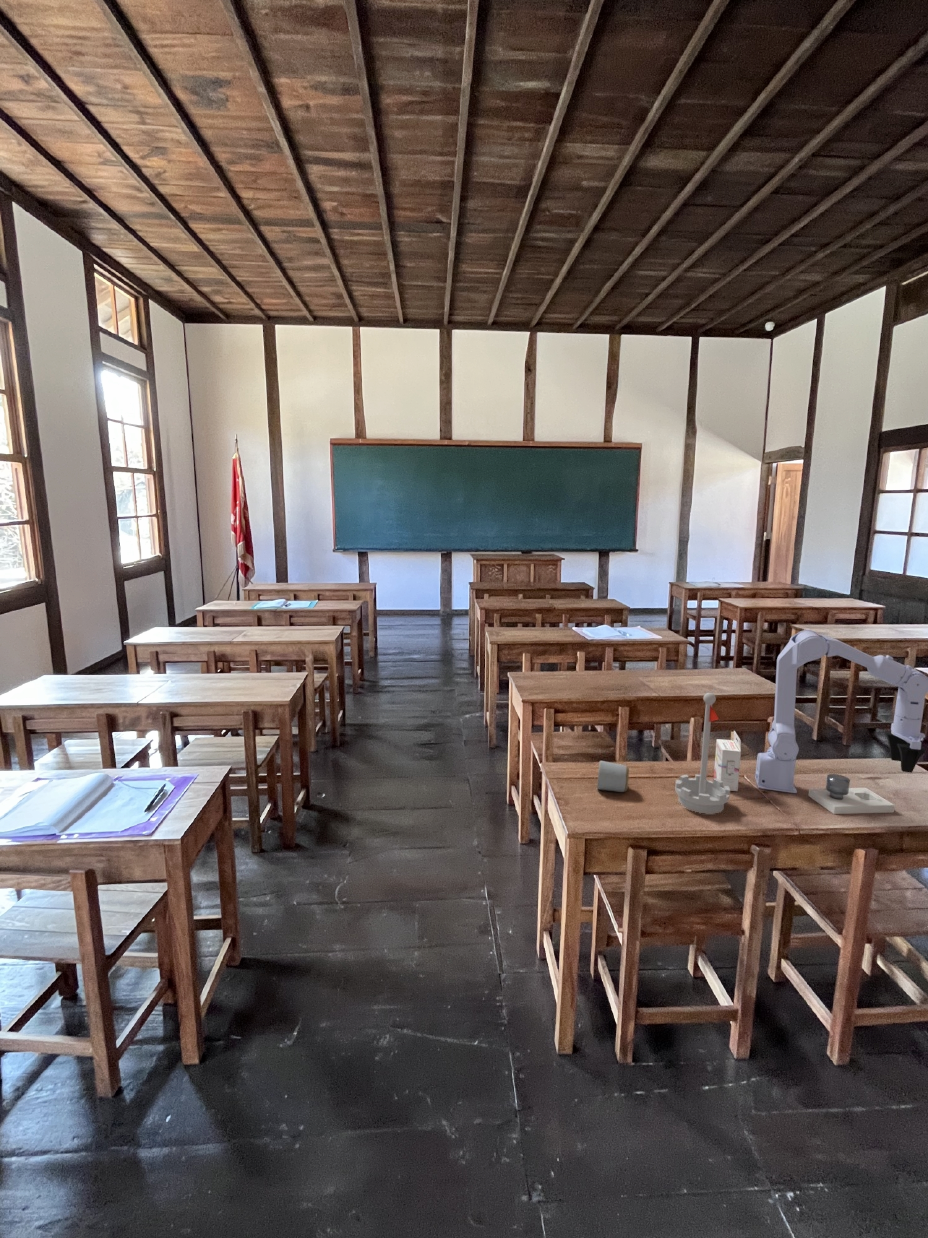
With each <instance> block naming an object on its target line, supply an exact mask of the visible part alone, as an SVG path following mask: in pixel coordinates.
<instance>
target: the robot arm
mask: <svg viewBox="0 0 928 1238" xmlns="http://www.w3.org/2000/svg"><path fill="white" fill-rule="evenodd" d="M824 656H825V657H827V658H829V657H835V656H839V657H841V658H844V659H846V660H847V661H848V660H849V661H851V662H853V663H855V664H858V665H860V666H863V667H865V668H866V669H867V672H868V674H869V675H870V676H872V677H875V678H877V679H879V680H881V681H883V682H886V683H887V684H890V685H892V686H894V687H898V688H897V689H898V690H897V694H896V702H895V707H894V708H895V709H894V716H893V722H892V723H891V725H890V730H891V732H889V731H887V732H884V735H885V737H886V739H887V743H888V745H889V754H890V759H891V761H895V762H900V768H901V769H900V770H901V771H902V773H904V772H905V773H910V774H911V773H913V772H914V769H915V767H916V765H917V763H918V761H919V759H920V758H921V757H922V756H923V755H924V754H925V753H926V751H927V750H926V749H925V747H922V742H921V738H922V739H923V738H924V739H925V738H926V734H925V733H924V732H921V729H922V722H923V721H922V720H923V714H924V707H925V702H926V701H925V700H926V695H927V694H928V676H926V675H925V674H924V673H922V672H921V671H919V670H917V669H915V668H914V667H913V666H911V665H909V664H906V665H905V664H902V663H900V662H897V661H896V660H894V657H892V656H891V655H888V654H886V655H885V656H884V655H882V654H879V655H876V656H875V655H874V656H872V655H870V654H868V653H865V652H863V651H861V650H860V649H858V648H855V647H853V646H851V645H849V644H847V643H845V642H843V641H841V640H839V639H837V638H834V637H831V636H828V635H825V634H822V633H819V634H818V633H817V632H816V631H813V630H811V629H805V630H801V631H799V632H797V633H796V634H794V635H791V637H790V639H789V641H788V643H786V645H785V646H784V648H783V649H782V651H781V652H780V653H779V654H778V656H777V659H776V668H775V669H776V670H775V672H776V673H775V674H776V675H775V690H774V691H775V692H774V693H775V695H774V715H773V721H772V723H771V729H770V731H769V732H768V734H767V742H768V743H769V744H770V745H769V748H767V750H766V752H759V753H757V758H756V766H755V774H754V775H755V776H754V778H755V782H756V784H757V788H759V789H762V790H770V791H777V792H782V793H791V794H797V793H798V791H797V788H796V786H795V785H794V784H795V783H794V781H795V772H796V763H797V756H798V754H799V751H800V750H799V749H800V748H799V745H798V743H797V741H796V730H795V712H796V698H797V697H796V696H797V695H796V694H797V674H798V673H797V672H798V668H800V667H801V666H803V665H804V664H806V663H808V662H812V661H813V662H814V661H815V660H819V659H822V658H823V657H824Z"/></svg>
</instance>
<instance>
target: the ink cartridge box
mask: <svg viewBox="0 0 928 1238" xmlns="http://www.w3.org/2000/svg"><path fill="white" fill-rule="evenodd" d="M741 741H742V740H741V738H740V737H739V735H738V734H737V732H736V731H735V730H733V740H732V739H723V738H722V739H719V738H716V743H715V756H714V757H715V759H714V769H713V779H715V778H716V779H718V780H720V781H722V782H723V786H729V788H730V791H731V792H738V791H739V781H740V780H739V777H740V767H741V757H742V756H741V755H742V742H741Z"/></svg>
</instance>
